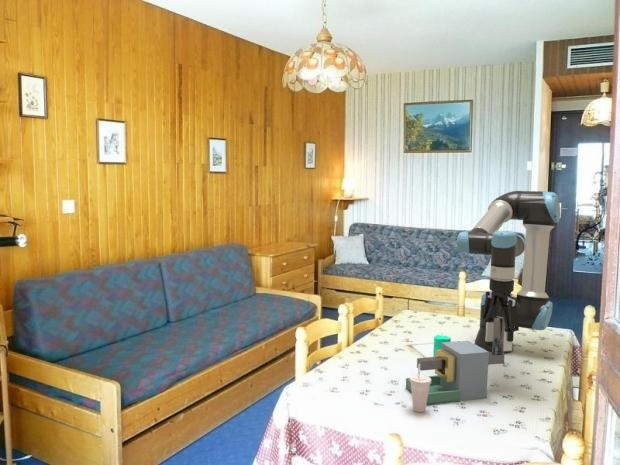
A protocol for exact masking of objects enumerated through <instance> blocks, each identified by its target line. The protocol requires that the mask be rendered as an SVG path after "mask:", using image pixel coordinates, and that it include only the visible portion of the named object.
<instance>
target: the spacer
mask: <svg viewBox="0 0 620 465" xmlns="http://www.w3.org/2000/svg"><path fill="white" fill-rule="evenodd" d="M435 357H441V358H442V359H444V360H445V361H446V362H445V370H444V369H434V374H435V375H438V376H439V377H441V378H442V379H443V380H445V381H446V382H454V375H455V356H453V355H451V354H450V353H448V352H447V351H445V350H443V349H436V356H435Z"/></svg>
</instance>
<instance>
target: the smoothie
mask: <svg viewBox="0 0 620 465" xmlns="http://www.w3.org/2000/svg"><path fill="white" fill-rule="evenodd" d="M428 376H429V375H423V374H421V370H420V364H418V368H417V374H413V375H411V376H410V377H409V378H410V382H411V391H412V393H411V400H412V409H413V411H414V412H418V413H424V412H426V410H427V406H428V405H427V399H428V393H429V387H430V384H431V378H430V377H428Z"/></svg>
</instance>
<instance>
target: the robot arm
mask: <svg viewBox="0 0 620 465" xmlns="http://www.w3.org/2000/svg"><path fill="white" fill-rule="evenodd" d="M560 217H561V204H560V200H559V196H558V194H557V193H556V192H553V191H545V190H544V191H543V190H542V191H539V190H538V191H536V190H535V191H534V190H533V191H532V190H513V191H509V192H506V193H504V194H501V195H500V196H498V197H496V198H495V199H494V200H492V201H491V203H490V204H489V205H488V207H487V211H486V212H485V214H484V215H483V216H482V217H481V218H480V219H479V220H478V222H477V223H476V224H475V225H474V227H473V228H472V229H471V230H470V231H468V230H467V231H460V232H459V233H458V235H457V237H456V249H457V250H458V252H459V253H465V254H471V255H473V254H474V255H483V256H484V255H485V256H490V271H489V272H490V273H489V274H490V275H489V277H490V279H489V290H490V291H485V293H483V294H482V295H481V301H480V313H479V314H480V315H479V316H480V318H479V329H478V331H477V334H476V337H475V339H474V344H475V345H477V346H479V347H481V348H483V349H485V350H486V351H488V352H492V347H493V328H494V317H496V316H499V317H503V318H504V323H505V330H504V347H503V351H504V354H508V353H511V352H514V336H515V335H514V334H515V332H519V330H520V329H519V328H523V329H530V330H532V331H534V330H535V331H544V330H546V329H547V327H548V326H549V324H550V320H551V318H552V313H553V306H554V305H553V301H551V300H549V295H548V294H547V293H546V281H547V280H546V279H547V270H548V268H547V267H548V259H549V258H548V256H549V245H550V235H551V234H550V232H551V231H552V230H553V229H554V228H555V225H556V223H559V222H560V220H561V218H560ZM511 220H515V221H516V220H517V221H522V226H523V227H524V228H525V230H526V231H525V238H523V236H521V235H520V234H517V233H516V232H514V231H507V230H506V231H505V230H500V229H501V228H502V226H504V223H506V222H508V221H511ZM523 253H524V254H523ZM522 254H523V268H522V279H521V288H520V290H519V291H517V293H516V296H513V294H512V293H513V292H514V288H515V280H514V279H515V278H516V277H515V276H516V275H515V271H516V258H517V257H520V256H521V255H522Z"/></svg>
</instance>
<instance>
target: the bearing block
mask: <svg viewBox="0 0 620 465" xmlns="http://www.w3.org/2000/svg"><path fill="white" fill-rule="evenodd" d="M441 349H443V350H445V351H447V352H448V353H450V354H451V355H453V356H455V375H454V382H446V381H445V380H443V379H442V378H441V377H440V385H441V386H443V387H444V388H445V389H446V390H448V391H453V390H460V401H468V400H477V399H486V398H487V395H488V376H489V365H488V361H489V352H488V351H486V350H485V349H483V348H481V347H479V346H477V345H475V342H471V341H470V340H460V341H459V340H458V341H451V342H443V343H442V345H441ZM444 370H445V369H444Z"/></svg>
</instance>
